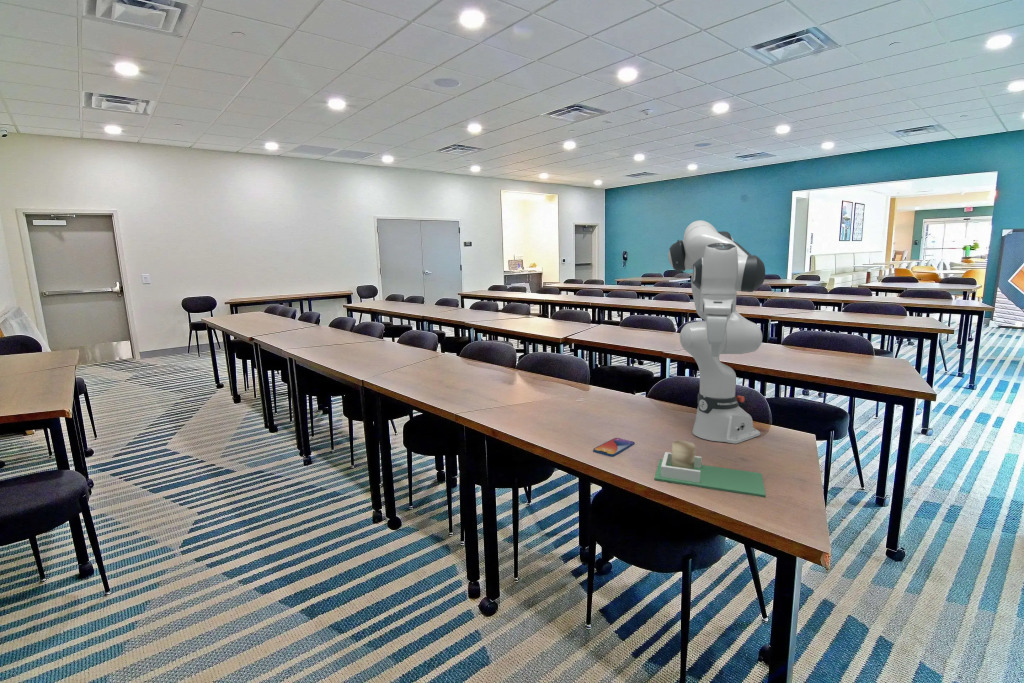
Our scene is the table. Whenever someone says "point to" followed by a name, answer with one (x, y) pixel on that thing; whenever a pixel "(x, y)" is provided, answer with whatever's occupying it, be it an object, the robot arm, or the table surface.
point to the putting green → (711, 477)
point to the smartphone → (613, 447)
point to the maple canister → (683, 454)
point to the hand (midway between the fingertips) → (714, 356)
